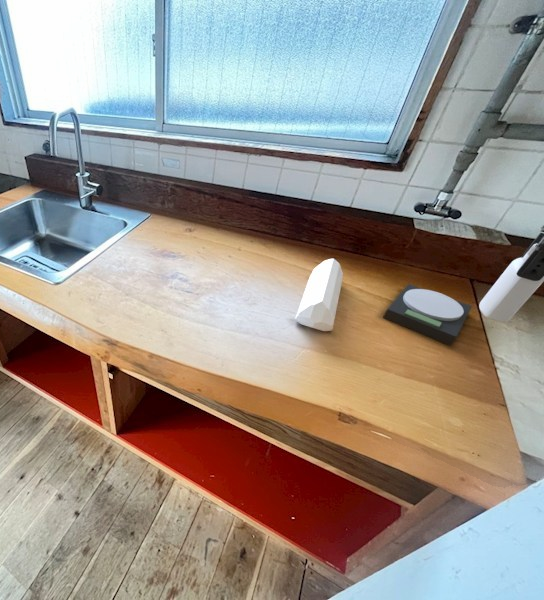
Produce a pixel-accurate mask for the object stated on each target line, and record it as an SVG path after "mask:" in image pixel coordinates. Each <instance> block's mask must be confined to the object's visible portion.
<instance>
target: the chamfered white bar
mask: <svg viewBox="0 0 544 600" xmlns="http://www.w3.org/2000/svg"><path fill="white" fill-rule="evenodd" d="M343 273H344V272H343V269H342V267H341V263H339V262H338V261H337V260H336V259H335V258H334V257H333V258H329V259H325V260H323V261H322V262H321V263H319V264H318V265H317V266H315V267H314V268H313V270H312V272H311V273H310V275H309V278H308V280H307V283H306V286H305V289H304V292H303V295H302V298H301V301H300V303H299V307H298V308H297V309H298V310H297V312H296V316H295V318H294V320H295V321H296V322H298V324H299V325H302V326H304V327H307V328H311V329H314V330H318V331H322V332H329V331H333V329H334V323H335V319H336V314H337V309H338V305H339V299H340V294H341V289H342V286H343V285H342V284H343V279H344V278H343V277H344V274H343Z"/></svg>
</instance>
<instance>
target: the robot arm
mask: <svg viewBox="0 0 544 600" xmlns="http://www.w3.org/2000/svg"><path fill="white" fill-rule="evenodd" d="M534 244H536V246H535V247H536V248H535V250H534V251H533V252H532V254H531V255H530V256H529V257H528V259H527V260H526V261H525V262H524V263H523V265H522V266H521V267H520V268H519V270H518V271H517V276H519V277H522V278H525V279H529V280H532V281H539V280H541V279H542V278H543V277H544V224H542V225H541V227H540V233H539V234H538V235H537V236H536V237H535V239H534V240H533V241H532V243H531V244H530V245H529V247H527V249H526V250H525V251H524V253H523V254H522V258H523V257H524V256H525V254H526V253H527V252H528V251H529V249H530V248H531V247H532V246H533V245H534Z"/></svg>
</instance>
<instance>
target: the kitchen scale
mask: <svg viewBox="0 0 544 600" xmlns="http://www.w3.org/2000/svg"><path fill="white" fill-rule="evenodd" d="M472 308H473V305H471V304H467V303H465V302H462V301H459V300H456V299H453V298H452V297H450V296H448V295H446V294H443V293H440V292H438V291H435V290H430V289H425V288H423V287H419V286H416V285H413V284H410V283H407V285H406V286H405V287H404V288H403V289H402V291H401V292H400V293H399V294H398V295H397V296H396V298H395V299H394V300H393V302H392V303H391V304H390V305H389V307H388V308H387V309H386V311H385V313H384V314H383V316H382V318H383V319H386V320H388V321H391V322H394V323H396V324H398V325H400V326H402V327H405V328H408V329H410V330H412V331H414V332H417V333H420V334H422V335H424V336H427V337H429V338H432V339H434V340H436V341H438V342H441V343H443V344H446V345H448V346H451V345H452V343H453V342H454V341H455V340H456V338H457V337H458V335H459V332H460V331H461V330H462V328H463V325H464V323H465V322H466V319H467V317H468V315H469V313H470V312H471V310H472Z"/></svg>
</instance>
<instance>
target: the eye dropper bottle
mask: <svg viewBox="0 0 544 600" xmlns="http://www.w3.org/2000/svg"><path fill="white" fill-rule="evenodd" d="M535 246H536V244H534V245H533V246H532V247H531V248H530V249H529V251H528V252H527V253H526V254H525V256H524V257H523V256H522V257H517V258H515V259H514V260H512V261H511V262H510V263H509V265H508V266H507V267H506V268H505V270H504V271H503V273H501V274H500V276H499V277H498V279H497V280H496V281H495V283H494V284H493V285H492V286H491V287H490V289H489V290H488V291H487V293H486V294H485V295H484V296H483V298H482V299H481V301H480V302H479V304H478V305H479V306H478V308H479V311H480V312H481V314H482V315H483V316H484V317H485V318H487V319H490V320H492V321H497V322H500V323H507V322H509V321H510V320H511V319H512V318H513V317H514V315H515V314H516V313H517V312H518V311H519V310H520V309H521V308H522V307H523V305H524V304H526V302H527V301H528V300H529V299H530V298H531V296H532V295H533V294H534V293H535V292H536V291H537V290H538V288H539V287H540V286H541V285H542V284H543V283H544V277H543V278H542V279H541V280H539V281H532V280H529V279H525V278H522V277H519V276H517V271H518V270H519V268H520V267H521V266H522V265H523V263H524V262H525V261H526V260H527V259H528V257H529V256H530V255H531V254H532V252H533V251H534V250H535V248H536V247H535Z"/></svg>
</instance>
